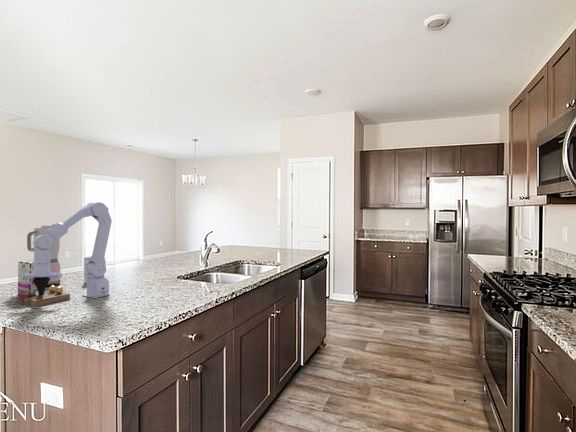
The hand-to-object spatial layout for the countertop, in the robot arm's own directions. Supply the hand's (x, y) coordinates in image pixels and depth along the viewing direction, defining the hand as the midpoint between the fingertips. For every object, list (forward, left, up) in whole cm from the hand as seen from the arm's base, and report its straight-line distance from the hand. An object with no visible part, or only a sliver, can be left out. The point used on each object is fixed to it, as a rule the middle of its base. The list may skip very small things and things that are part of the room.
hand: (40, 295), depth 141 cm
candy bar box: (+18, -5, -4) cm, 19 cm away
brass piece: (+1, -8, 0) cm, 8 cm away
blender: (+37, -21, -4) cm, 43 cm away
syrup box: (+24, -39, -4) cm, 46 cm away
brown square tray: (+4, -4, -4) cm, 7 cm away
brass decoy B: (+6, -8, 0) cm, 10 cm away
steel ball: (+2, 0, 0) cm, 2 cm away
